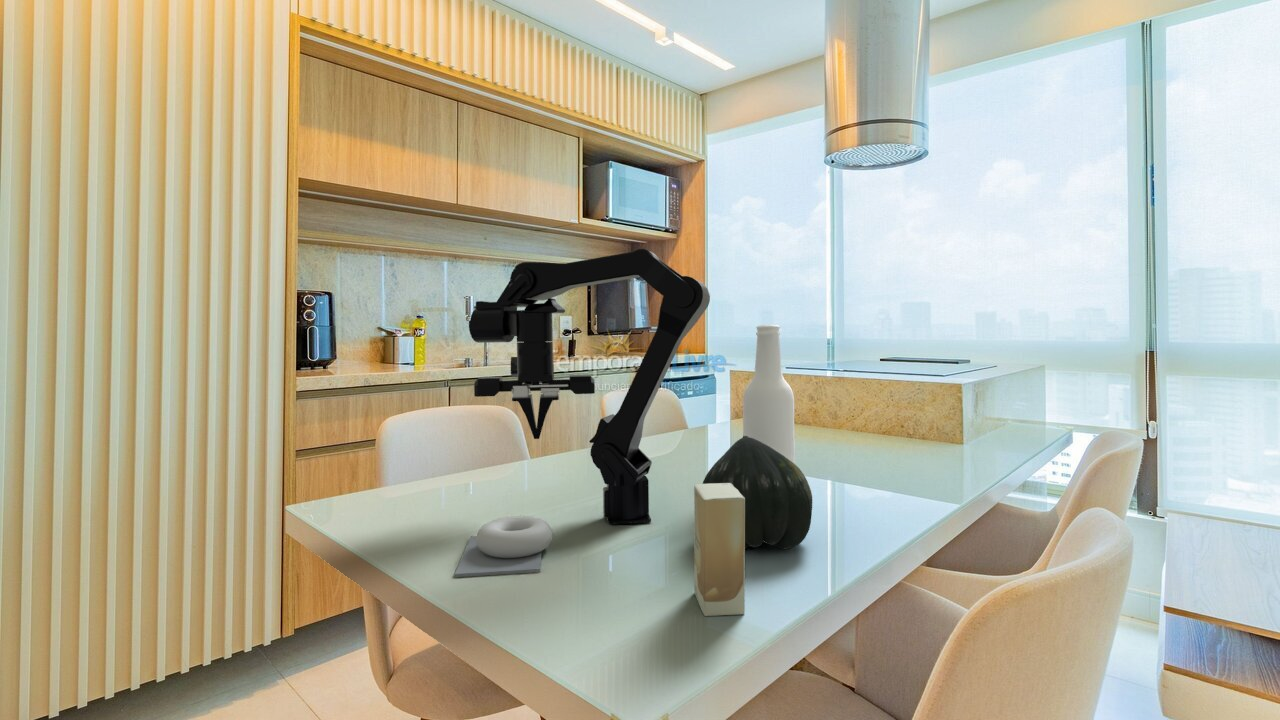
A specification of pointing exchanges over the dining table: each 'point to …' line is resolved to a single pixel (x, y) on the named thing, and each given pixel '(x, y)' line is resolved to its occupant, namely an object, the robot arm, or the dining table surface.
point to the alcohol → (769, 397)
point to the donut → (514, 536)
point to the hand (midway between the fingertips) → (536, 438)
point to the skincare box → (719, 549)
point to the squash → (766, 493)
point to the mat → (494, 563)
